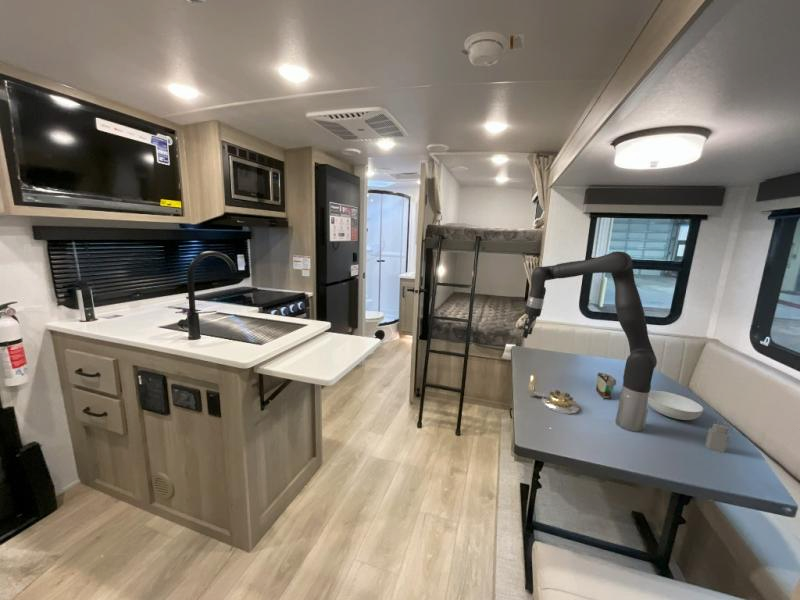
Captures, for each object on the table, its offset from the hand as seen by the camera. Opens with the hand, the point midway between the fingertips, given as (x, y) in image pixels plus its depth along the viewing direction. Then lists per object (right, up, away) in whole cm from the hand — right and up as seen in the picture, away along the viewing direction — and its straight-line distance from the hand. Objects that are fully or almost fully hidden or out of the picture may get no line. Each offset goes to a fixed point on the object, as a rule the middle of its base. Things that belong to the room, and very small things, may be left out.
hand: (526, 335), depth 168 cm
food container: (+40, -31, -1) cm, 50 cm away
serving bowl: (+61, -35, -15) cm, 72 cm away
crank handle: (+6, -29, -12) cm, 32 cm away
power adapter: (+57, -39, -41) cm, 80 cm away
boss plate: (+10, -31, -15) cm, 36 cm away
